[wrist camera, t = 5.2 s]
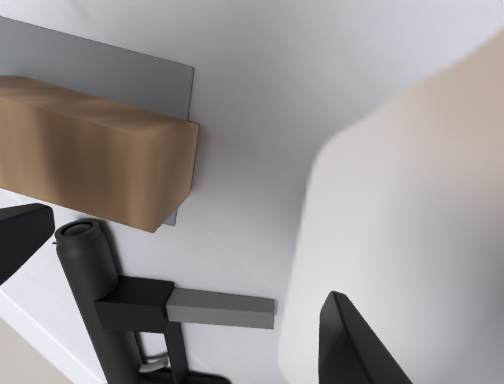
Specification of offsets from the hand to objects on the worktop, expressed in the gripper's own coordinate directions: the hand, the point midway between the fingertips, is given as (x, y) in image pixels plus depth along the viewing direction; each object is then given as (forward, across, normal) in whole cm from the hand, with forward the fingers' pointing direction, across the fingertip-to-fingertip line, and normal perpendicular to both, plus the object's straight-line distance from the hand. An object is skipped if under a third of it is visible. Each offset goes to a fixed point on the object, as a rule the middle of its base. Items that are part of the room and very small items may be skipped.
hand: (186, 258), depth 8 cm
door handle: (+9, +2, +15) cm, 17 cm away
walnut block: (+6, +3, 0) cm, 6 cm away
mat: (+8, +10, 0) cm, 12 cm away
